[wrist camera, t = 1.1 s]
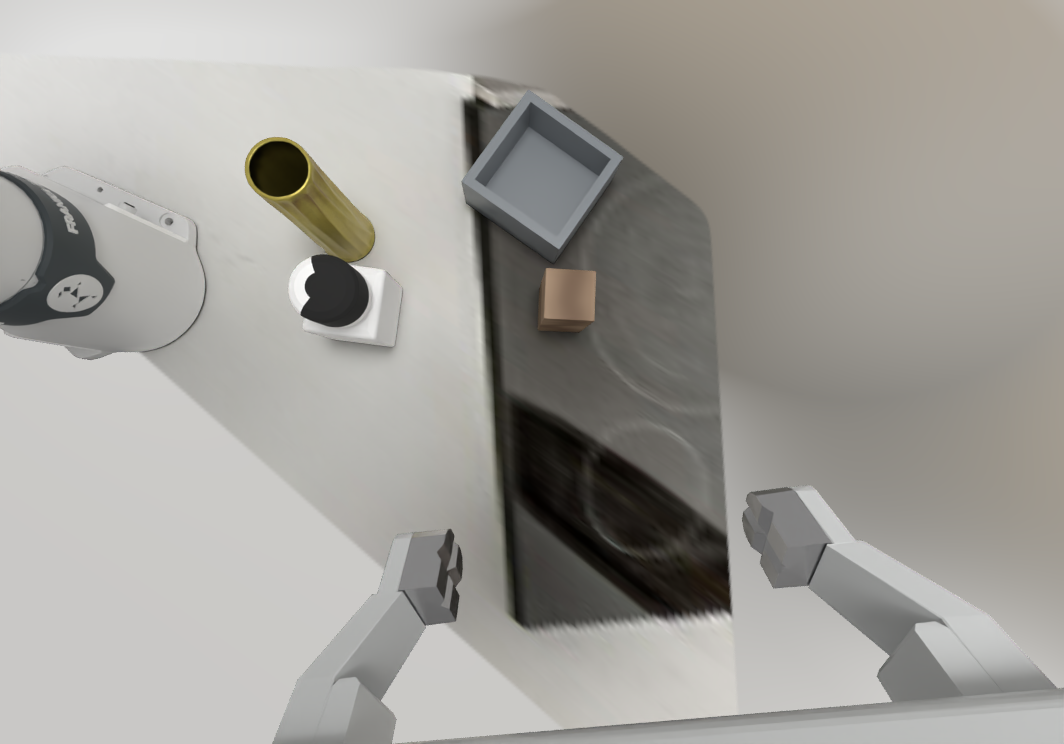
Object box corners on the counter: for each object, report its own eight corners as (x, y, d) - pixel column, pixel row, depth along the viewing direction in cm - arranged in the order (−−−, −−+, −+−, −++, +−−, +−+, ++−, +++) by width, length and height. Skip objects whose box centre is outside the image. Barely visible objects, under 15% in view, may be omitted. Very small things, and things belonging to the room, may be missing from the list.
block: (537, 330, 47) (544, 318, 39) (539, 288, 47) (546, 268, 39) (579, 332, 47) (594, 320, 39) (580, 290, 47) (595, 271, 39)
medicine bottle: (403, 287, 46) (368, 251, 34) (395, 347, 46) (356, 333, 34) (341, 278, 46) (283, 239, 34) (332, 339, 45) (270, 322, 33)
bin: (466, 203, 47) (461, 181, 42) (526, 120, 48) (528, 89, 43) (553, 264, 47) (559, 249, 42) (611, 181, 48) (623, 157, 43)
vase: (339, 200, 46) (264, 116, 32) (385, 228, 46) (331, 156, 32) (310, 245, 46) (222, 180, 31) (357, 272, 46) (290, 219, 32)
